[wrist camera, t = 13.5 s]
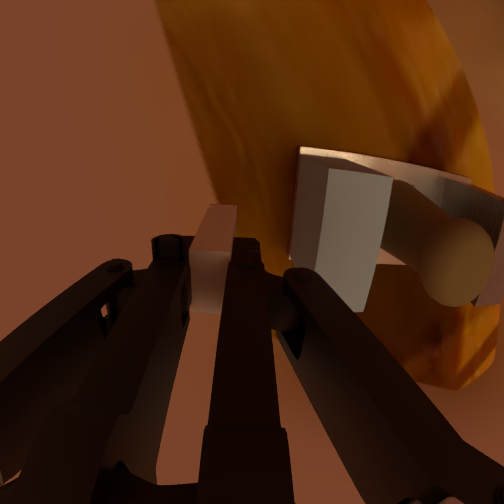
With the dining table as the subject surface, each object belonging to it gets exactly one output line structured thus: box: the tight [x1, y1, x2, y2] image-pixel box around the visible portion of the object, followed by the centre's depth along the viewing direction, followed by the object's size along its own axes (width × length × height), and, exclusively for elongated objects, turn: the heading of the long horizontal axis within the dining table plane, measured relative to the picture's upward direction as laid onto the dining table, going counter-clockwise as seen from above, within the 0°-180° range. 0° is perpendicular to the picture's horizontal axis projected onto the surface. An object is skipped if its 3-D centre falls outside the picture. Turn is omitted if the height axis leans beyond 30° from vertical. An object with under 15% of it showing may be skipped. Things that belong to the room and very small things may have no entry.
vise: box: [287, 146, 504, 306], centre depth 19 cm, size 9×17×9 cm, turn 86°
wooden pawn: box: [380, 180, 495, 307], centre depth 17 cm, size 6×6×11 cm
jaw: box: [290, 154, 393, 312], centre depth 18 cm, size 8×4×8 cm, turn 177°
